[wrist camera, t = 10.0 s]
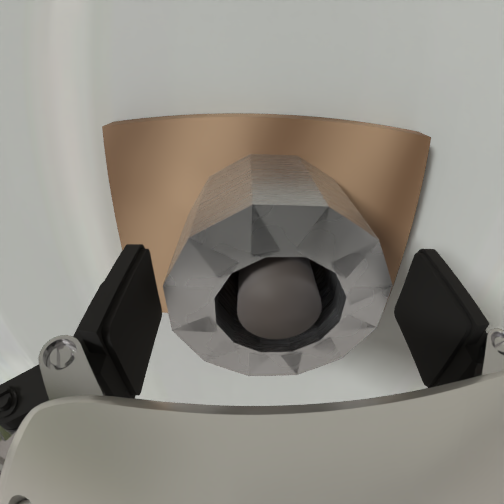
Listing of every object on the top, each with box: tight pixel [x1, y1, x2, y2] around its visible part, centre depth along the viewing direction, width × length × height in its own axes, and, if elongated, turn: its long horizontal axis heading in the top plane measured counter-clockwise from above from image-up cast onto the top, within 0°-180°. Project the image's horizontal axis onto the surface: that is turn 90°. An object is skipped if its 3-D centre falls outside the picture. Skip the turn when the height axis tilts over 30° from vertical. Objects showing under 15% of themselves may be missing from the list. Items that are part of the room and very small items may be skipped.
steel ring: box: [163, 154, 393, 376], centre depth 11 cm, size 7×7×5 cm
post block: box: [102, 114, 431, 339], centre depth 12 cm, size 14×10×6 cm
